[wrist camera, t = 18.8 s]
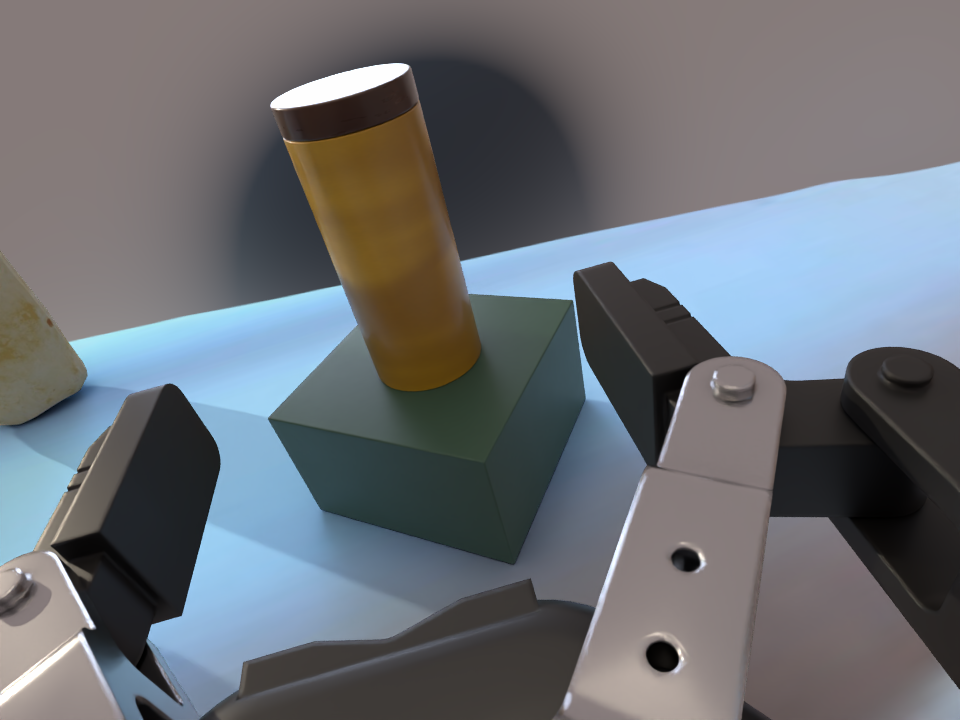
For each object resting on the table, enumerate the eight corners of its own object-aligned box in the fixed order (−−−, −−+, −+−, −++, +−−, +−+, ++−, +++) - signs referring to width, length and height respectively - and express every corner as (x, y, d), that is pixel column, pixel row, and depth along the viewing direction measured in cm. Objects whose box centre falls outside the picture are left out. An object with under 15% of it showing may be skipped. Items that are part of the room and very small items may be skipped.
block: (514, 565, 23) (484, 462, 19) (320, 510, 27) (266, 418, 24) (586, 398, 30) (573, 299, 26) (421, 375, 34) (391, 288, 30)
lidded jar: (451, 399, 22) (358, 100, 16) (356, 384, 24) (239, 114, 18) (497, 329, 25) (435, 56, 19) (410, 321, 27) (327, 72, 21)
